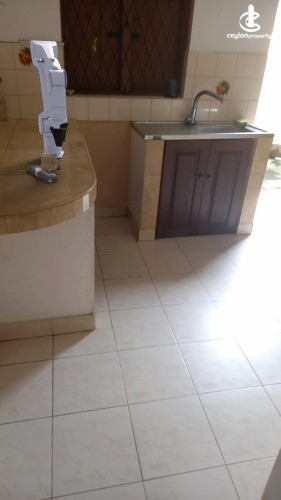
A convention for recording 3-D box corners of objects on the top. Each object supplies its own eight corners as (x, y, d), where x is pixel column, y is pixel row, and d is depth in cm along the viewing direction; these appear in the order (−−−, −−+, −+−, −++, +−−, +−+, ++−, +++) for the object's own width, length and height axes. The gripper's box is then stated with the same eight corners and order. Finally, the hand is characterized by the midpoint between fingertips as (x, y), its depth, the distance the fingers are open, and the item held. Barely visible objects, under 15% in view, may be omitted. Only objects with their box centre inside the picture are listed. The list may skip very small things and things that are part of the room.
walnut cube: (44, 166, 136) (43, 153, 134) (57, 166, 137) (56, 153, 134) (41, 170, 132) (40, 156, 129) (55, 170, 132) (54, 157, 130)
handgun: (53, 160, 143) (25, 165, 136) (76, 172, 132) (47, 178, 125) (53, 166, 144) (26, 171, 137) (77, 178, 133) (48, 184, 126)
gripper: (50, 102, 135) (53, 139, 142) (43, 109, 122) (46, 148, 129) (69, 103, 135) (70, 139, 142) (64, 110, 123) (66, 149, 130)
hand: (60, 144), depth 136 cm, fingers open, 7 cm apart
